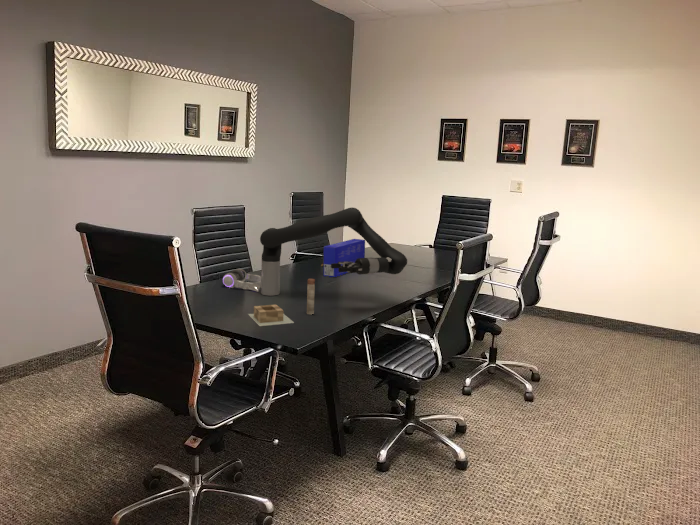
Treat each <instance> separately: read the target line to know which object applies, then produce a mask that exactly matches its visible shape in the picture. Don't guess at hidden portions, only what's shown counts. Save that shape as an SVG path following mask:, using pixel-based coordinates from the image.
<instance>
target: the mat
mask: <svg viewBox="0 0 700 525" xmlns="http://www.w3.org/2000/svg"><path fill="white" fill-rule="evenodd" d="M247 315H248V316H249V317H250V318H251V319H252V320H253V321H254V322H255V323H256V324H257V325H258V326H259V327H265V326H277V325H286V324H294V323H295V322H294V321H293V320H292V319H291V318H290V317H288V316H287V315H286V314H285V313H283V321H276V322H265V323H260V322H259V321H258V320H257V319H256V318H255V317H254V313H247Z"/></svg>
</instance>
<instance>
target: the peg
mask: <svg viewBox="0 0 700 525" xmlns="http://www.w3.org/2000/svg"><path fill="white" fill-rule="evenodd" d="M315 285H316V279H315V278H308V279H307V285H306V286H307V290H306V291H307V293H306V296H307V297H306V314H307V315H309V316H310V315H312V314H315V292H316V291H315V290H316V289H315V288H316V286H315Z"/></svg>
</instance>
